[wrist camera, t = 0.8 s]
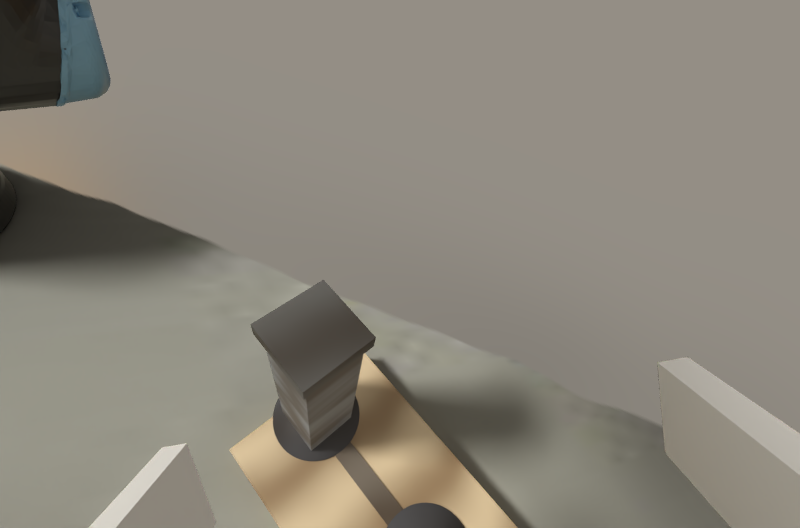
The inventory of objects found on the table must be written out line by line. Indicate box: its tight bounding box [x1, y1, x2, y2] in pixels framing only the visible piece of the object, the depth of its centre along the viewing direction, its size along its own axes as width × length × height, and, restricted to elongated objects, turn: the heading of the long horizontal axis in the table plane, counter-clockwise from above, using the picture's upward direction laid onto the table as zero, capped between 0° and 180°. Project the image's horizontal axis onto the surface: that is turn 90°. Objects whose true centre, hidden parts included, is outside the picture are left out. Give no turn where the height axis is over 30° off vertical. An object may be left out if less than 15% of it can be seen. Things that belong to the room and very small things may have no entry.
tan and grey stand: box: [229, 280, 517, 528], centre depth 23 cm, size 22×12×16 cm, turn 43°
